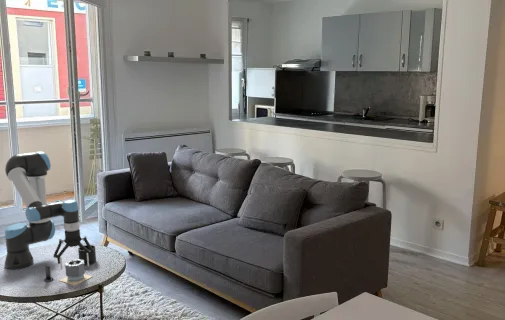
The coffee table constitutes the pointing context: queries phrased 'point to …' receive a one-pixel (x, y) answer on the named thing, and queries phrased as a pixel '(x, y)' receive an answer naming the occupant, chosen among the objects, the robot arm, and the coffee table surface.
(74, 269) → the ring
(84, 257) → the black cup
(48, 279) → the stand
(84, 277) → the hub
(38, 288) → the coffee table surface
